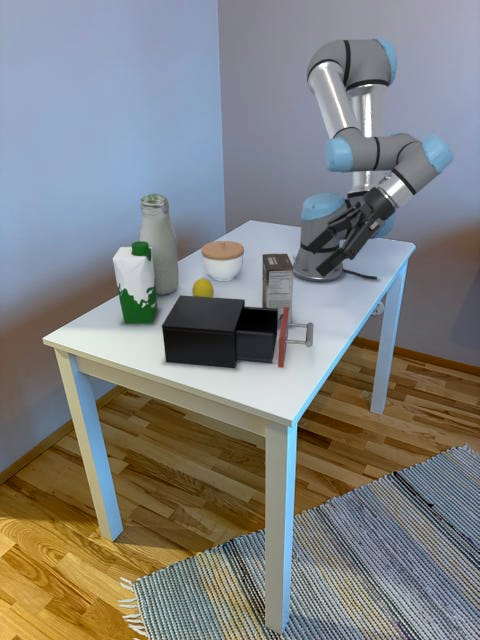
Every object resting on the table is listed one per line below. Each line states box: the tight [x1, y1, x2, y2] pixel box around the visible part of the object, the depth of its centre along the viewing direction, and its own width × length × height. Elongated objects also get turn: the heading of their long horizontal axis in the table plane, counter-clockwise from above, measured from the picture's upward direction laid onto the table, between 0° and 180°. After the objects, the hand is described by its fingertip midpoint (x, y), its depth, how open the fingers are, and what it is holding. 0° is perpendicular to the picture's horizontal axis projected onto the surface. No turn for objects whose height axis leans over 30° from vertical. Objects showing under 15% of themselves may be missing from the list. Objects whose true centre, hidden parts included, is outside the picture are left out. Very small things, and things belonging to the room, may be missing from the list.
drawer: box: [235, 305, 315, 369], centre depth 103 cm, size 20×13×8 cm, turn 81°
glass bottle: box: [138, 193, 180, 296], centre depth 126 cm, size 10×10×28 cm
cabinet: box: [161, 294, 246, 369], centre depth 105 cm, size 16×14×10 cm
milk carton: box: [112, 240, 158, 324], centre depth 116 cm, size 9×9×20 cm
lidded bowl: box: [200, 240, 245, 282], centre depth 139 cm, size 13×13×11 cm
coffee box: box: [261, 253, 295, 328], centre depth 115 cm, size 9×6×16 cm
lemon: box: [192, 277, 214, 298], centre depth 124 cm, size 6×6×8 cm
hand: (314, 261), depth 111 cm, fingers open, 13 cm apart
